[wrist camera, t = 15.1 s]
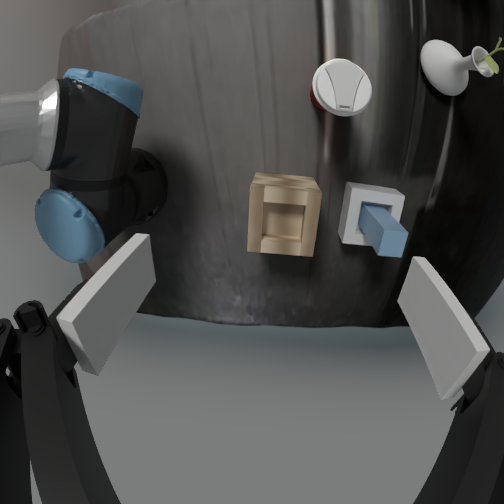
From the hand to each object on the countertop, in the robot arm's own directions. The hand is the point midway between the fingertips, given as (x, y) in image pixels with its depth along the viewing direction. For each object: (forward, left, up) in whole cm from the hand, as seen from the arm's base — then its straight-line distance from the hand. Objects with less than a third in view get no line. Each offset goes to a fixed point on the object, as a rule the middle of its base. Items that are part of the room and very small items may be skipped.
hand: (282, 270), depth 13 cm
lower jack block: (+17, -8, -37) cm, 41 cm away
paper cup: (+7, +12, -37) cm, 39 cm away
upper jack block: (+1, -8, -37) cm, 38 cm away
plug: (+17, -8, -35) cm, 39 cm away
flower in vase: (+30, +24, -37) cm, 53 cm away
